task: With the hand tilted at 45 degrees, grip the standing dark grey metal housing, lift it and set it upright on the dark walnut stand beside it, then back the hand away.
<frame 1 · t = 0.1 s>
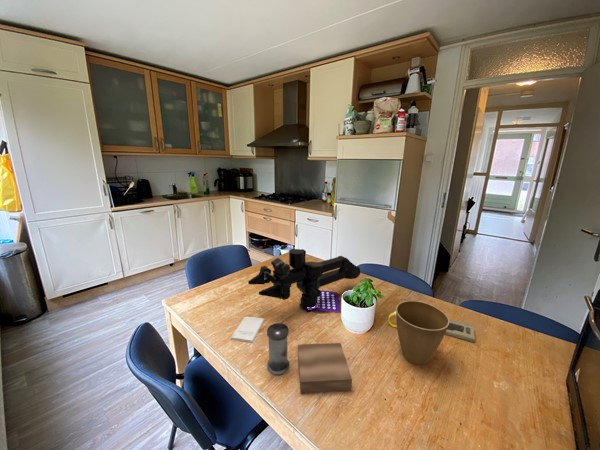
hand: (253, 287, 91), 17 cm above the table, tool horizontal, fingers open, 9 cm apart
housing: (278, 366, 78), on the table
watch: (395, 326, 97), on the table
external hard drive: (248, 331, 94), on the table
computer: (447, 331, 96), on the table
stand: (322, 371, 76), on the table
brown hollow tapered container: (415, 357, 82), on the table
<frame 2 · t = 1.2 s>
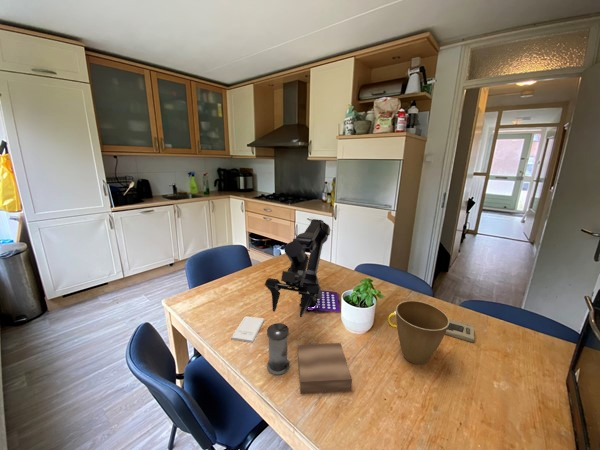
hand: (286, 314, 81), 14 cm above the table, tool tilted 45°, fingers open, 9 cm apart
nothing on the table moved.
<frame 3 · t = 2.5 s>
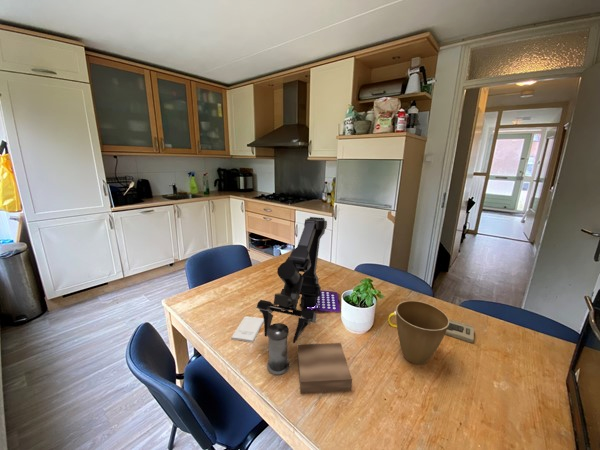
hand: (279, 339, 77), 9 cm above the table, tool tilted 45°, fingers open, 9 cm apart
nothing on the table moved.
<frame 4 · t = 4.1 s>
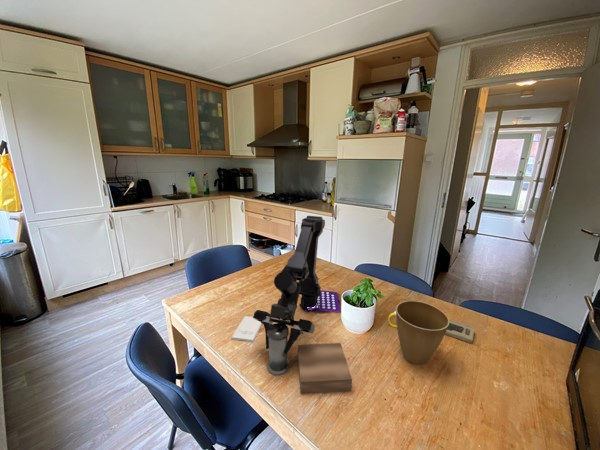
hand: (276, 351, 75), 7 cm above the table, tool tilted 45°, fingers closed on housing, 6 cm apart
housing: (278, 366, 78), on the table, touching gripper
everything else where it was.
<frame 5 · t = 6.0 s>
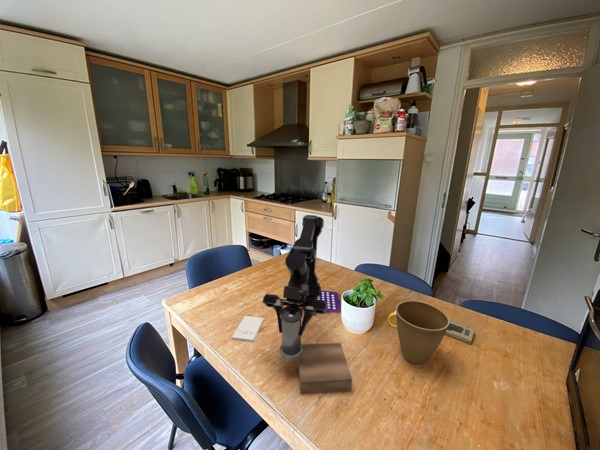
hand: (290, 334, 72), 13 cm above the table, tool tilted 45°, fingers closed on housing, 6 cm apart
housing: (291, 350, 75), point 7 cm above the table, touching gripper
everything else where it was.
when the fingers open (12 cm above the table, at t = 7.8 s): housing drops 1 cm, resting on stand.
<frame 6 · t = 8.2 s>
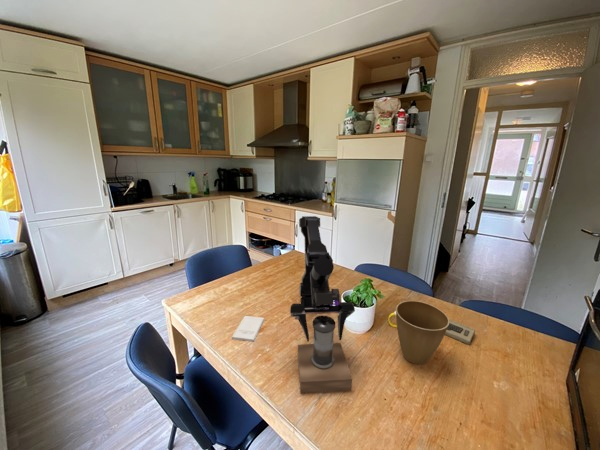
hand: (324, 340, 72), 12 cm above the table, tool tilted 45°, fingers open, 9 cm apart
housing: (322, 360, 75), point 4 cm above the table, touching stand
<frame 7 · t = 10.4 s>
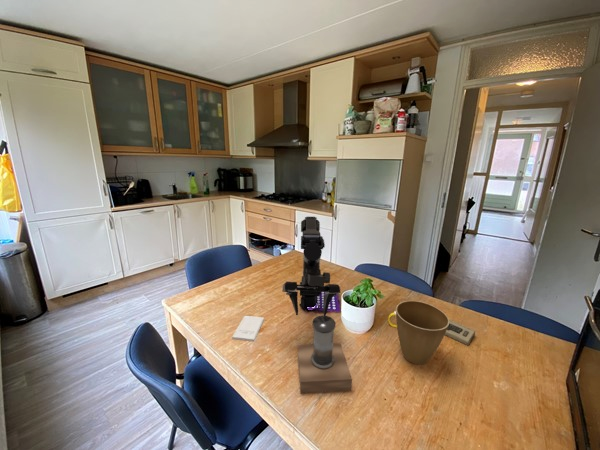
hand: (310, 315, 82), 13 cm above the table, tool tilted 35°, fingers open, 9 cm apart
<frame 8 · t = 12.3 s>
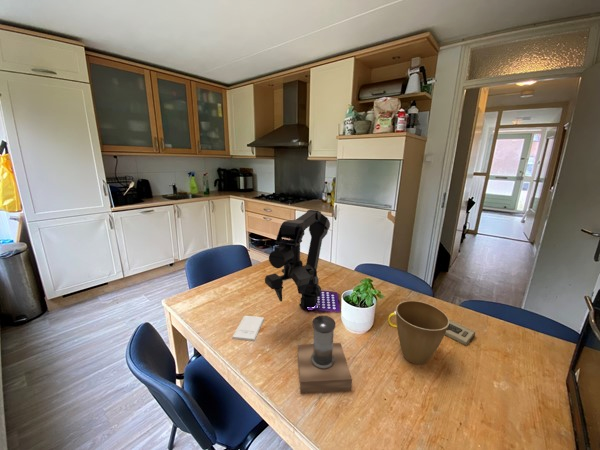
hand: (291, 297, 92), 13 cm above the table, tool pointing down, fingers open, 9 cm apart
at the end: housing inside the target area on the stand (0.1 cm from its centre), point 4.0 cm above the stand's base; housing tilted 0°; the gripper is holding nothing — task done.
